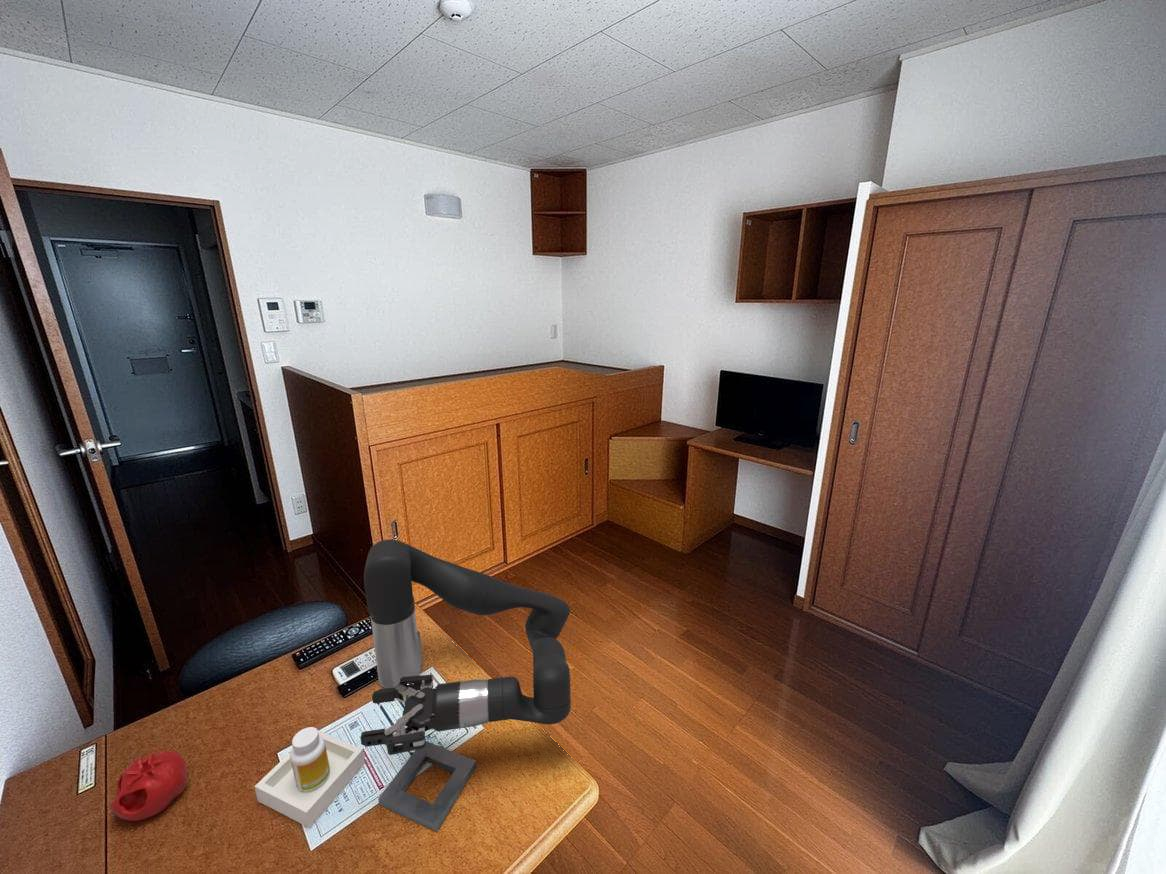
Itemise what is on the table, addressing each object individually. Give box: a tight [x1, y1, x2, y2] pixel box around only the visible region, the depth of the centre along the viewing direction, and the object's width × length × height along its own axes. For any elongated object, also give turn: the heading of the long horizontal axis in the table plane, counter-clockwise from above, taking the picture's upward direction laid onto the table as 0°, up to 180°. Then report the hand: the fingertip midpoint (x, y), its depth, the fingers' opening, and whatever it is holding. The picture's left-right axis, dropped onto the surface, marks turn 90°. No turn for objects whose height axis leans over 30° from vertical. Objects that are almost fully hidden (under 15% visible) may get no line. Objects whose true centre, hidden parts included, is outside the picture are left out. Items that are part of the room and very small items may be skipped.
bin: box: [254, 730, 366, 829], centre depth 84 cm, size 12×12×4 cm
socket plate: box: [377, 740, 477, 832], centre depth 84 cm, size 12×12×2 cm
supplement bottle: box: [289, 726, 330, 792], centre depth 83 cm, size 5×5×10 cm
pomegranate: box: [109, 747, 188, 822], centre depth 80 cm, size 10×10×9 cm
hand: (367, 717), depth 81 cm, fingers open, 8 cm apart
